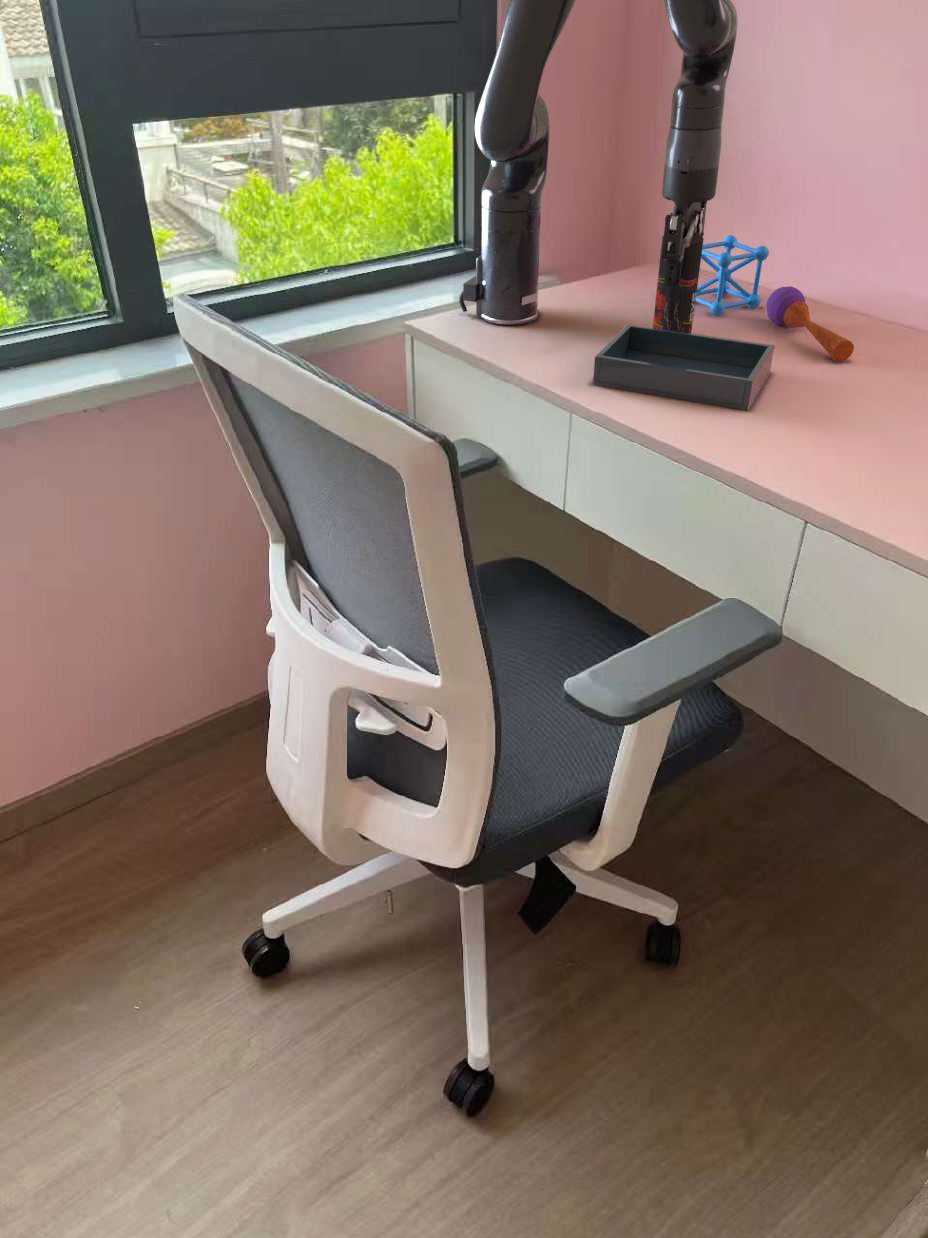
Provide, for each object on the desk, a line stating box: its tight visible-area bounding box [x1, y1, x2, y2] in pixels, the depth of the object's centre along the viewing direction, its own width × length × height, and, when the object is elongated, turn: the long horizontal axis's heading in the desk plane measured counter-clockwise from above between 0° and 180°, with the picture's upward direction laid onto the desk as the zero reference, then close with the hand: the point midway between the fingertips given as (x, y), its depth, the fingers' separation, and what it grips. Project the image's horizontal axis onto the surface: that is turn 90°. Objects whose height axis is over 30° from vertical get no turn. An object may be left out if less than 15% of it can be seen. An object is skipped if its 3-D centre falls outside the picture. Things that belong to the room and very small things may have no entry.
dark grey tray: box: [592, 324, 776, 411], centre depth 138 cm, size 22×15×4 cm
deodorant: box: [652, 234, 704, 333], centre depth 148 cm, size 6×6×15 cm
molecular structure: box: [695, 234, 770, 316], centre depth 163 cm, size 10×10×10 cm
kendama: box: [765, 285, 855, 363], centre depth 150 cm, size 6×6×20 cm
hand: (679, 278), depth 147 cm, fingers open, 8 cm apart
